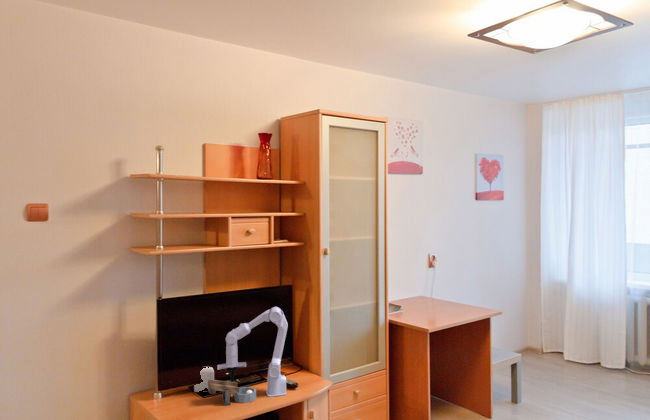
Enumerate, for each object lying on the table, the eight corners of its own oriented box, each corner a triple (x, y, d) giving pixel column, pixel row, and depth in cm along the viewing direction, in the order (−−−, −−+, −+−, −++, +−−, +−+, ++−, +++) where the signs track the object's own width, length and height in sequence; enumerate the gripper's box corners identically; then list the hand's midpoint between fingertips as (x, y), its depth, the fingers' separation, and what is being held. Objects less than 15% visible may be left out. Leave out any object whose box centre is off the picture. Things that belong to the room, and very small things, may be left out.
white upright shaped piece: (194, 393, 263) (194, 369, 263) (194, 390, 267) (194, 366, 267) (214, 391, 265) (214, 367, 265) (214, 388, 269) (214, 365, 269)
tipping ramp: (233, 386, 264) (235, 378, 264) (237, 397, 250) (239, 388, 250) (205, 383, 259) (207, 374, 260) (208, 393, 245) (210, 384, 245)
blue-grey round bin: (253, 393, 262) (253, 385, 262) (257, 401, 252) (257, 393, 252) (233, 396, 258) (233, 388, 258) (236, 403, 248) (236, 395, 248)
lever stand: (227, 396, 258) (227, 381, 258) (230, 405, 247) (230, 389, 247) (221, 397, 257) (221, 382, 257) (224, 405, 246) (224, 390, 246)
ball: (246, 387, 257) (243, 394, 257) (248, 390, 254) (245, 397, 253) (253, 390, 258) (250, 396, 258) (254, 392, 255) (251, 399, 254)
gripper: (244, 352, 266) (244, 377, 266) (216, 354, 262) (216, 380, 262) (247, 355, 260) (247, 382, 260) (218, 358, 255) (218, 385, 255)
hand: (232, 381), depth 260 cm, fingers closed
